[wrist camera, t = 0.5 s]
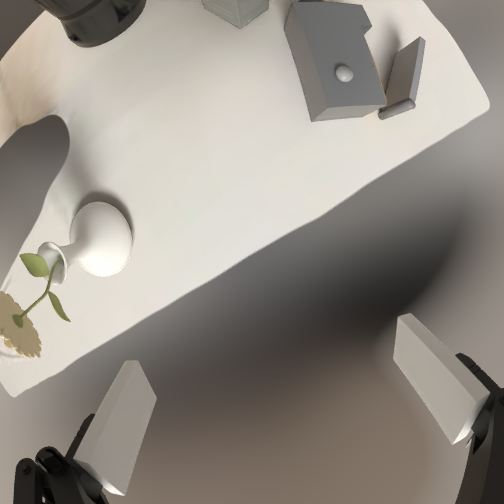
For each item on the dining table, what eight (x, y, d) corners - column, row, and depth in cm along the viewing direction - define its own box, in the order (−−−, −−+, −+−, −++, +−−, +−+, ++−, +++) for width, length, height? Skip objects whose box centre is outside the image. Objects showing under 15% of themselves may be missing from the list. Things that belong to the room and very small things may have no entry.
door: (391, 114, 33) (419, 104, 25) (381, 109, 33) (409, 96, 25) (404, 59, 30) (429, 43, 22) (395, 54, 30) (419, 36, 22)
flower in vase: (68, 213, 36) (-54, 253, 12) (124, 190, 36) (-10, 215, 11) (92, 288, 39) (-4, 374, 15) (149, 274, 39) (57, 380, 15)
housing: (281, 22, 29) (289, -9, 21) (352, 22, 29) (372, -4, 20) (312, 125, 34) (331, 111, 25) (385, 119, 33) (417, 108, 25)
